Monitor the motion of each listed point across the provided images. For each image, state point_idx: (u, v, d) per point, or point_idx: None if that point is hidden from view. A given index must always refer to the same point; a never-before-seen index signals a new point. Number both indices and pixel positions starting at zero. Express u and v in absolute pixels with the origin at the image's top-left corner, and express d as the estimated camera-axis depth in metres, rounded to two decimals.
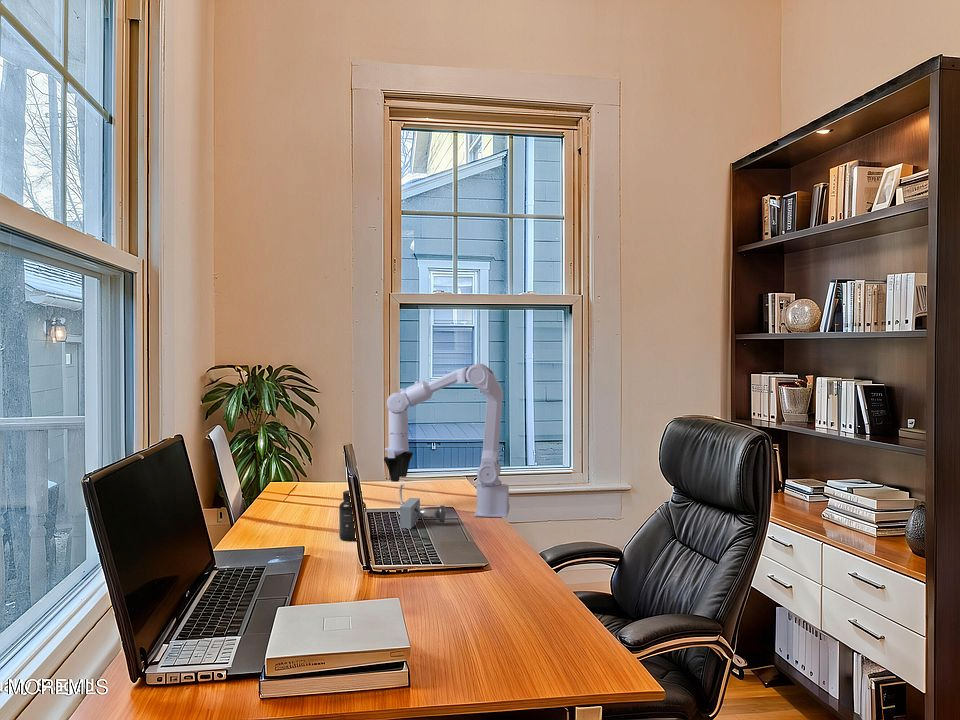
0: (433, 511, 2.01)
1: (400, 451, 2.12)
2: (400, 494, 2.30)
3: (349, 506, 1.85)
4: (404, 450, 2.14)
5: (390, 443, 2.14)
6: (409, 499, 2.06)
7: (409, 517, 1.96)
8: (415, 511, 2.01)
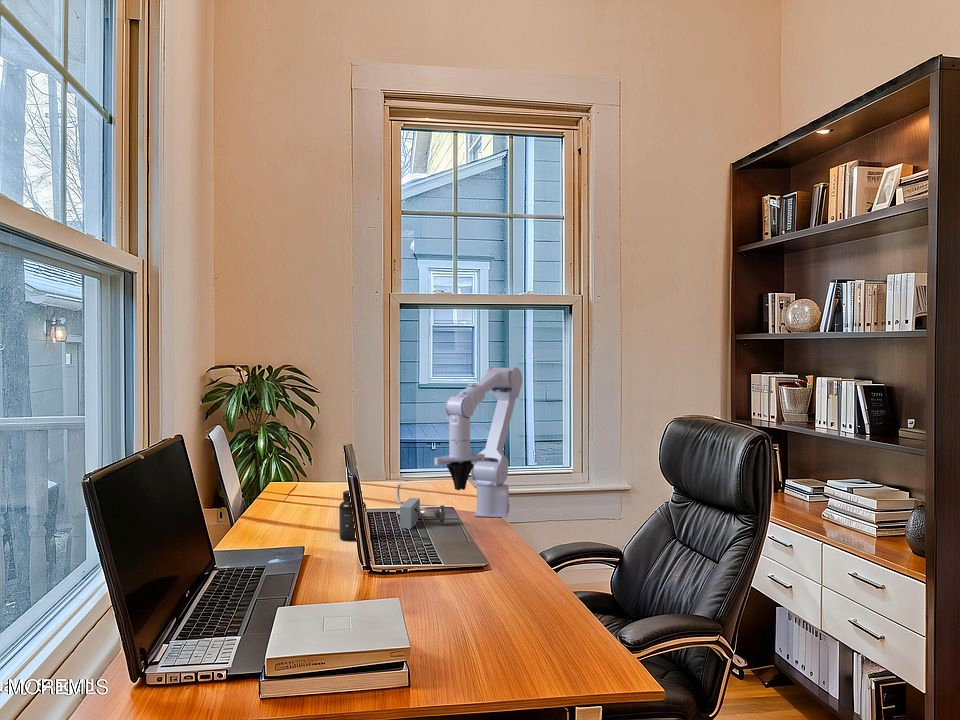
0: (433, 511, 2.01)
1: (449, 459, 1.97)
2: (398, 494, 2.30)
3: (349, 506, 1.85)
4: (456, 459, 1.97)
5: None
6: (409, 499, 2.06)
7: (409, 517, 1.96)
8: (415, 511, 2.01)
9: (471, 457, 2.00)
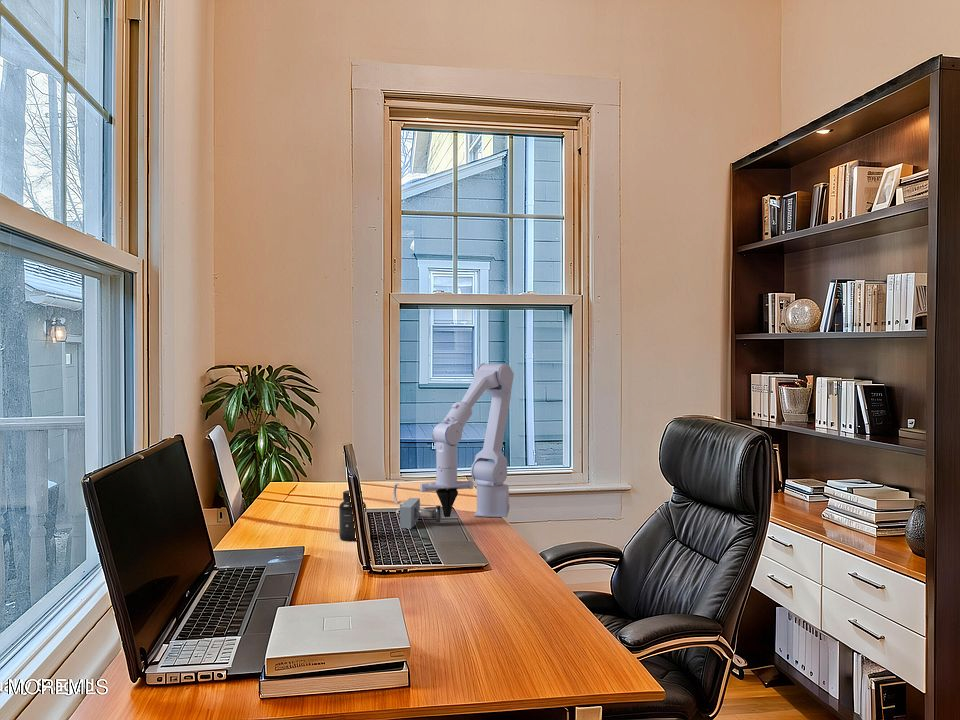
0: (429, 511, 2.01)
1: (434, 486, 1.98)
2: (394, 493, 2.31)
3: (349, 506, 1.85)
4: (441, 486, 1.98)
5: None
6: (409, 499, 2.06)
7: (409, 517, 1.96)
8: None
9: (457, 485, 2.00)
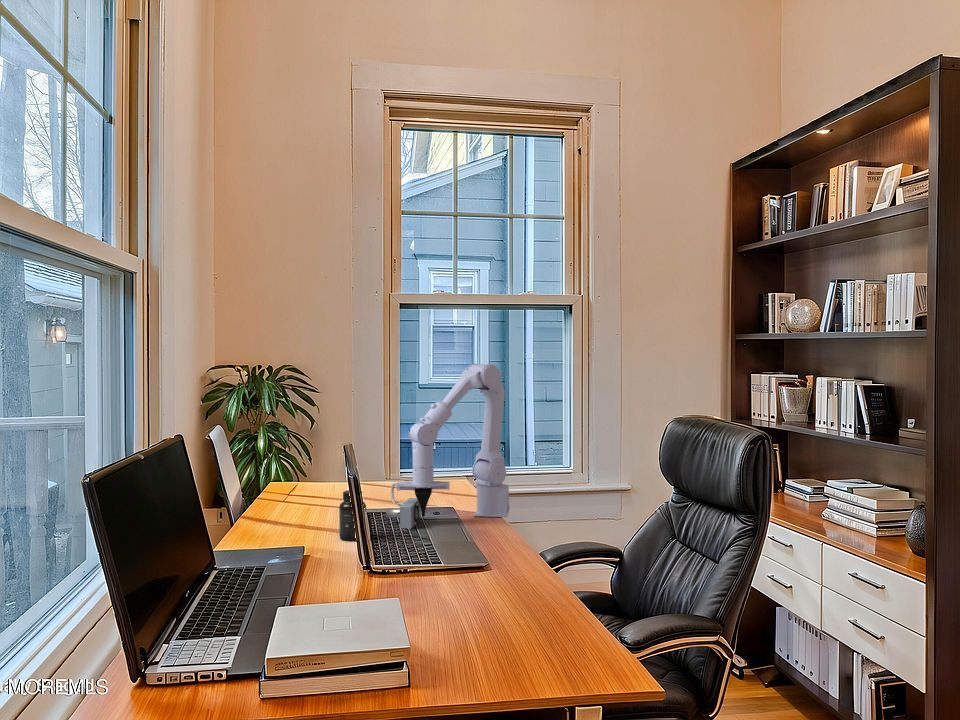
0: None
1: (408, 485, 2.00)
2: (392, 493, 2.31)
3: (349, 506, 1.85)
4: (414, 485, 1.99)
5: None
6: (409, 499, 2.06)
7: (409, 517, 1.96)
8: (390, 511, 2.02)
9: (431, 485, 2.00)
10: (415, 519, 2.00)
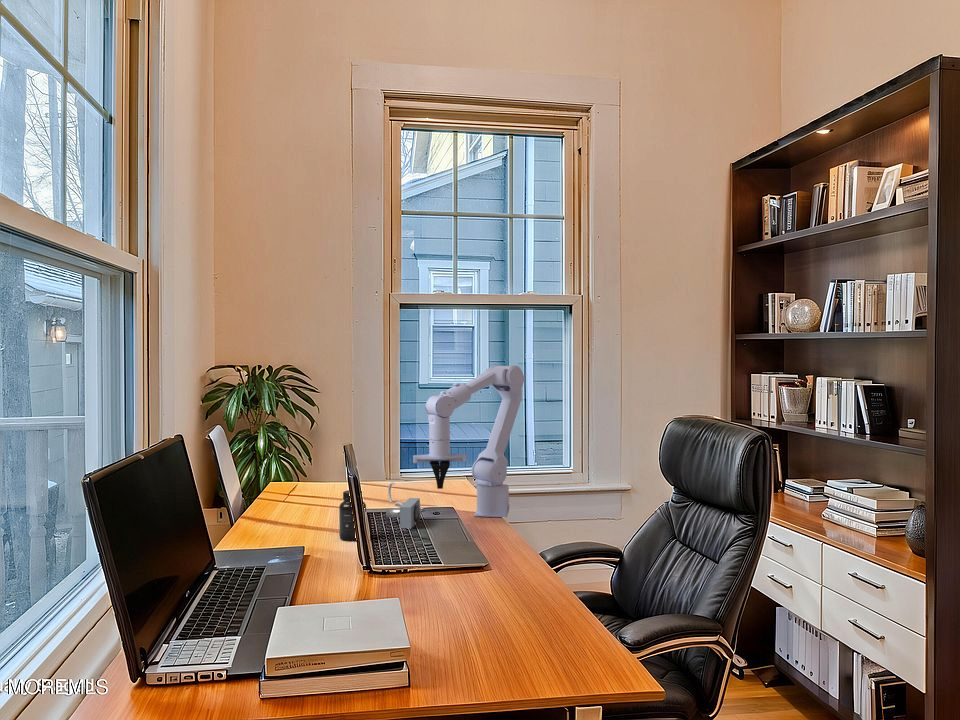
0: None
1: (425, 457, 2.01)
2: (389, 493, 2.32)
3: (349, 506, 1.85)
4: (432, 457, 2.00)
5: None
6: (409, 499, 2.06)
7: (409, 517, 1.96)
8: (390, 511, 2.02)
9: (449, 457, 2.01)
10: (415, 519, 2.00)
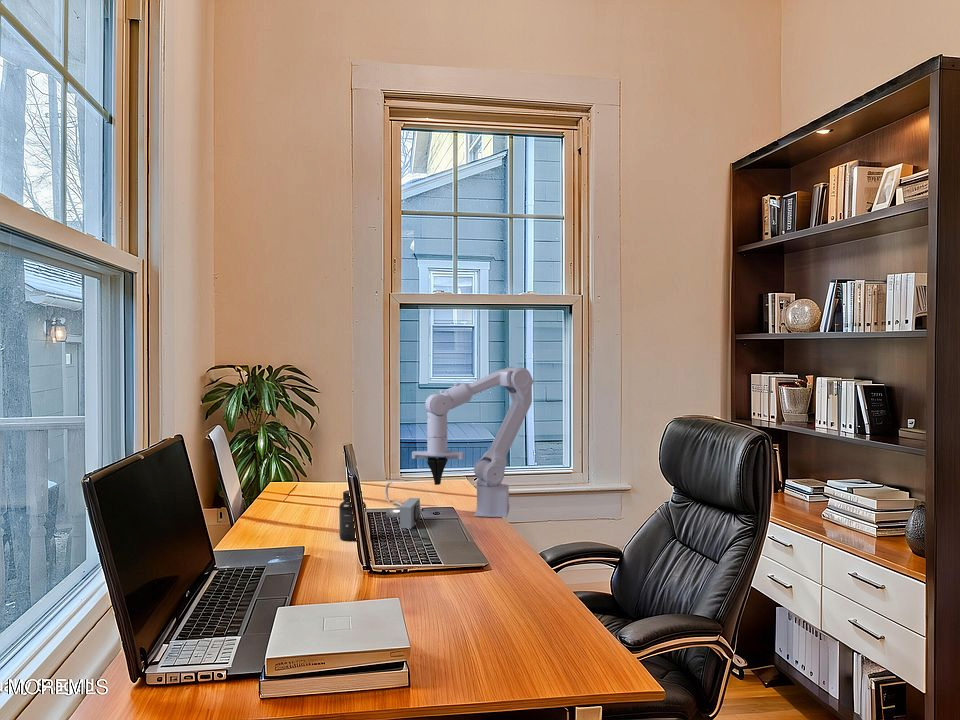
0: None
1: (422, 454, 2.07)
2: (386, 493, 2.32)
3: (349, 506, 1.85)
4: (428, 454, 2.06)
5: None
6: (409, 499, 2.06)
7: (409, 517, 1.96)
8: (390, 511, 2.02)
9: (444, 454, 2.06)
10: (415, 519, 2.00)
